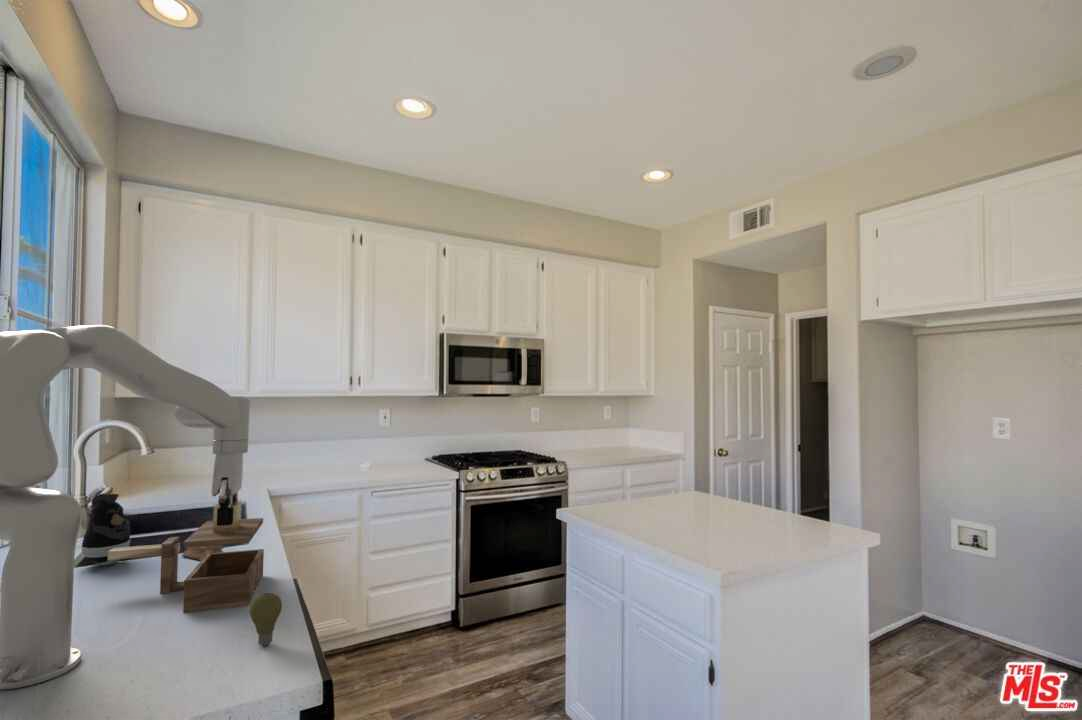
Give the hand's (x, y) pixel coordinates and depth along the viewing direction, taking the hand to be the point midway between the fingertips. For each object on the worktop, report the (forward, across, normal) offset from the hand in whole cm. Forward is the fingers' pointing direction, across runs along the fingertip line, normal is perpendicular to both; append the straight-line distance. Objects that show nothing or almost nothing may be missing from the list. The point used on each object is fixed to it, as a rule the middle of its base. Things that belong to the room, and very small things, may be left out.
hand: (227, 521), depth 133 cm
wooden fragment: (+17, -38, -14) cm, 44 cm away
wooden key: (+9, -7, -19) cm, 22 cm away
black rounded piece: (+17, -32, -36) cm, 51 cm away
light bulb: (+18, +32, +13) cm, 38 cm away
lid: (+3, 0, 0) cm, 3 cm away
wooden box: (+17, 0, -4) cm, 18 cm away
